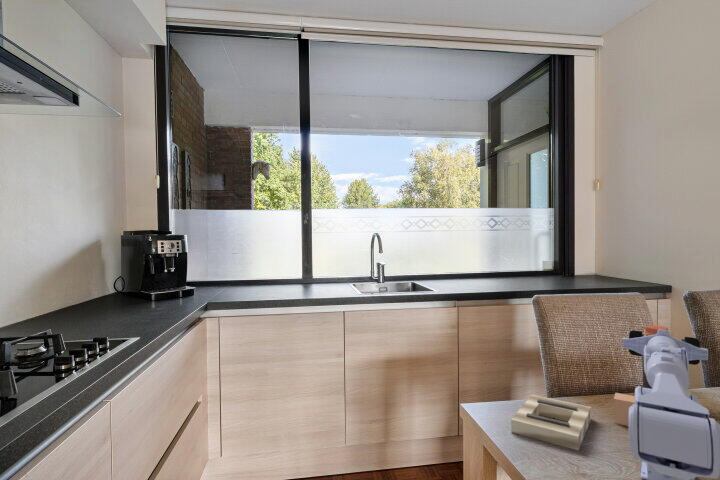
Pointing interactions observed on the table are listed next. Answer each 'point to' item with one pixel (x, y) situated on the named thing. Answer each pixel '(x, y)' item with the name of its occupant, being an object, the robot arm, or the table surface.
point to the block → (622, 408)
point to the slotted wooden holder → (552, 421)
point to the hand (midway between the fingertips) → (662, 341)
